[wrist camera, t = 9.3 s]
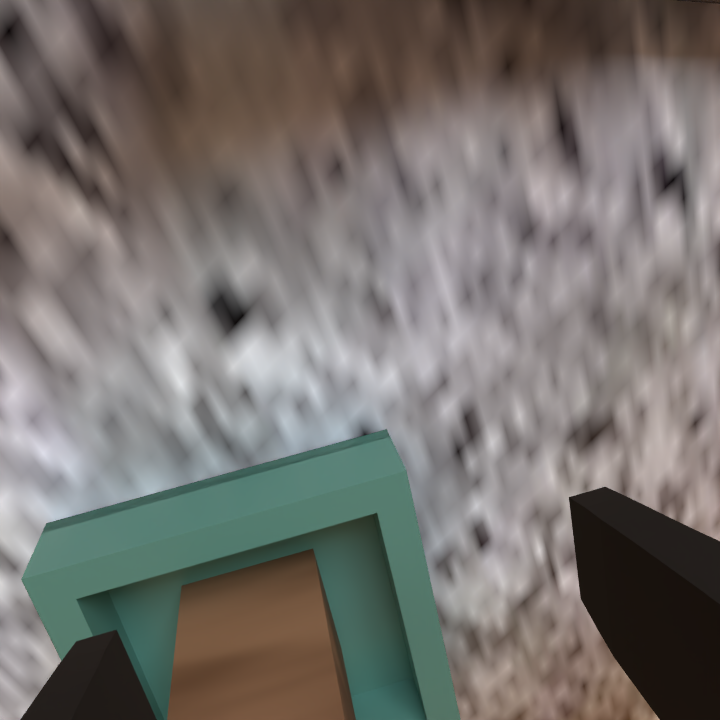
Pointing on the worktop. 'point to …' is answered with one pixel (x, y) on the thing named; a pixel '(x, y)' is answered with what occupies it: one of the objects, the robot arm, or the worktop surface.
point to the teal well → (254, 546)
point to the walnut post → (259, 647)
